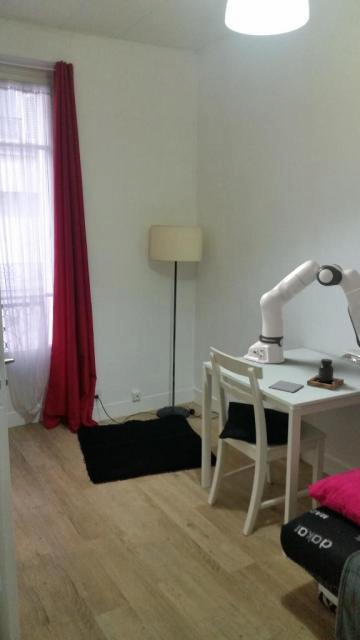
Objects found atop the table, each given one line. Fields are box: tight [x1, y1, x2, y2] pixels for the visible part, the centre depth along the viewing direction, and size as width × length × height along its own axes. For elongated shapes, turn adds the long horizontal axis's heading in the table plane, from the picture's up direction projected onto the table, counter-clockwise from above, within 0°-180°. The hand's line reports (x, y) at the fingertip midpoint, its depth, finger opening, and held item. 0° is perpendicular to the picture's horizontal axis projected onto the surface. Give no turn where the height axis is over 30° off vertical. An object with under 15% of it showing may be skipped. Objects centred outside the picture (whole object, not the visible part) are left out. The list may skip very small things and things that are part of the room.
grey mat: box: [268, 379, 305, 394], centre depth 249 cm, size 12×12×1 cm
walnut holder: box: [306, 374, 345, 391], centre depth 253 cm, size 13×13×2 cm
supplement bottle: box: [317, 358, 334, 385], centre depth 252 cm, size 7×7×12 cm
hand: (347, 359), depth 256 cm, fingers open, 8 cm apart
